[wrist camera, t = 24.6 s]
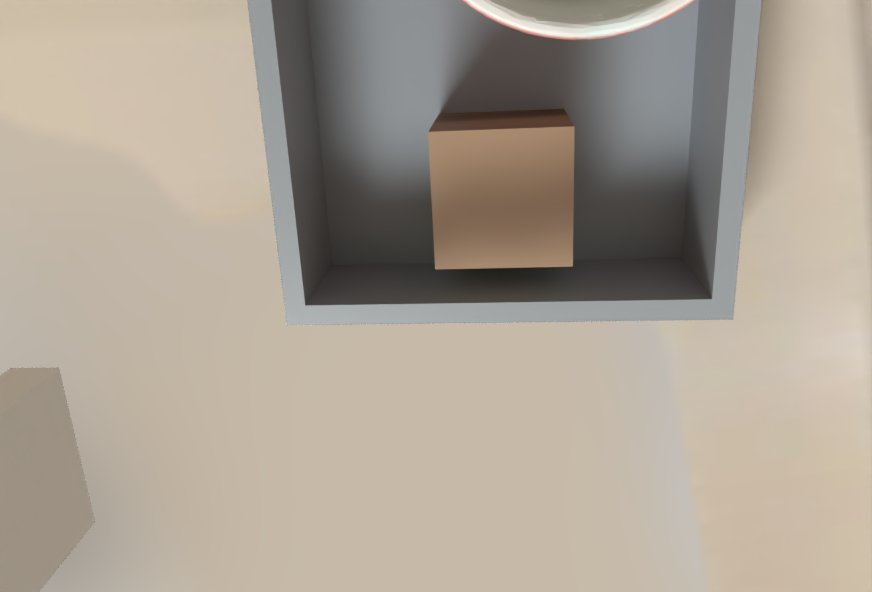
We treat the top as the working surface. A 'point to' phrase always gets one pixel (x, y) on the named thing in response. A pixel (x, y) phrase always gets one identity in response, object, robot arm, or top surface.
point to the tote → (503, 91)
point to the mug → (577, 16)
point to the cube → (502, 189)
